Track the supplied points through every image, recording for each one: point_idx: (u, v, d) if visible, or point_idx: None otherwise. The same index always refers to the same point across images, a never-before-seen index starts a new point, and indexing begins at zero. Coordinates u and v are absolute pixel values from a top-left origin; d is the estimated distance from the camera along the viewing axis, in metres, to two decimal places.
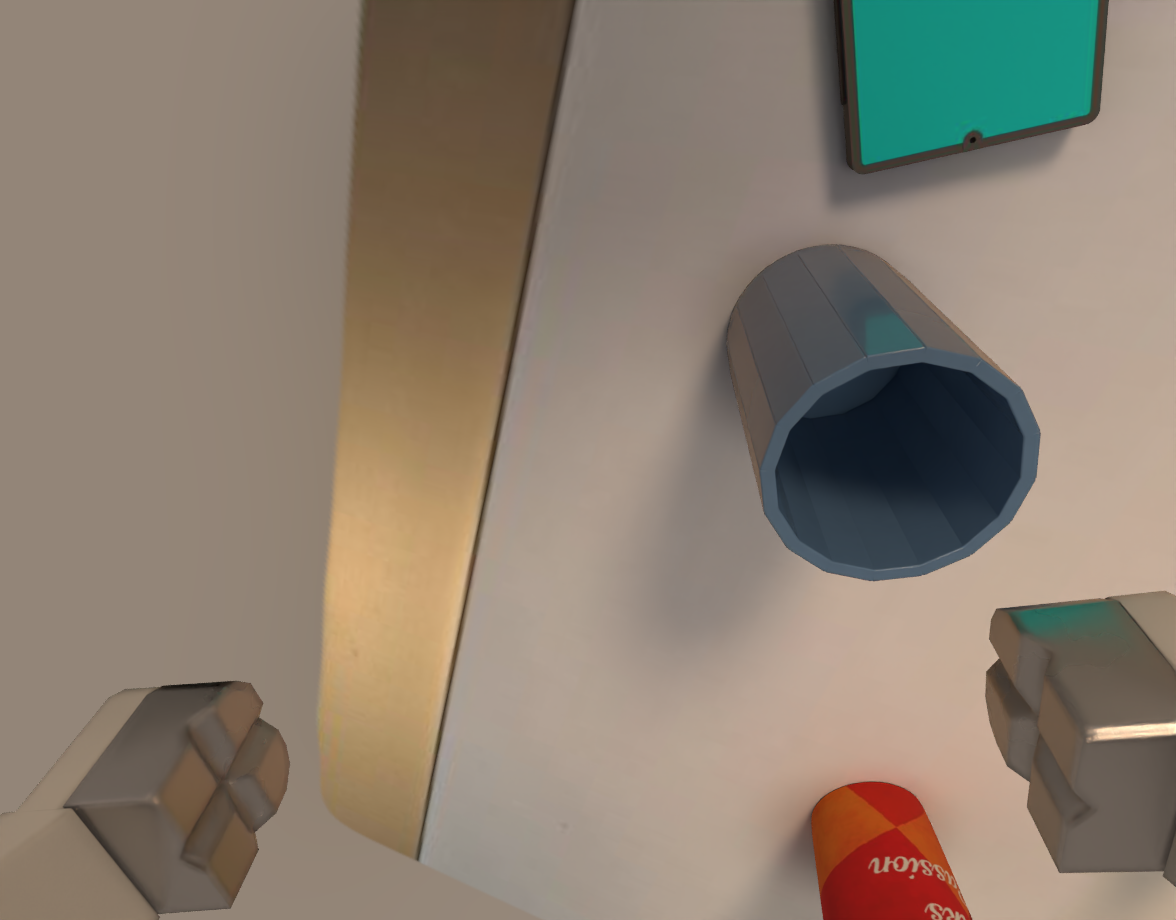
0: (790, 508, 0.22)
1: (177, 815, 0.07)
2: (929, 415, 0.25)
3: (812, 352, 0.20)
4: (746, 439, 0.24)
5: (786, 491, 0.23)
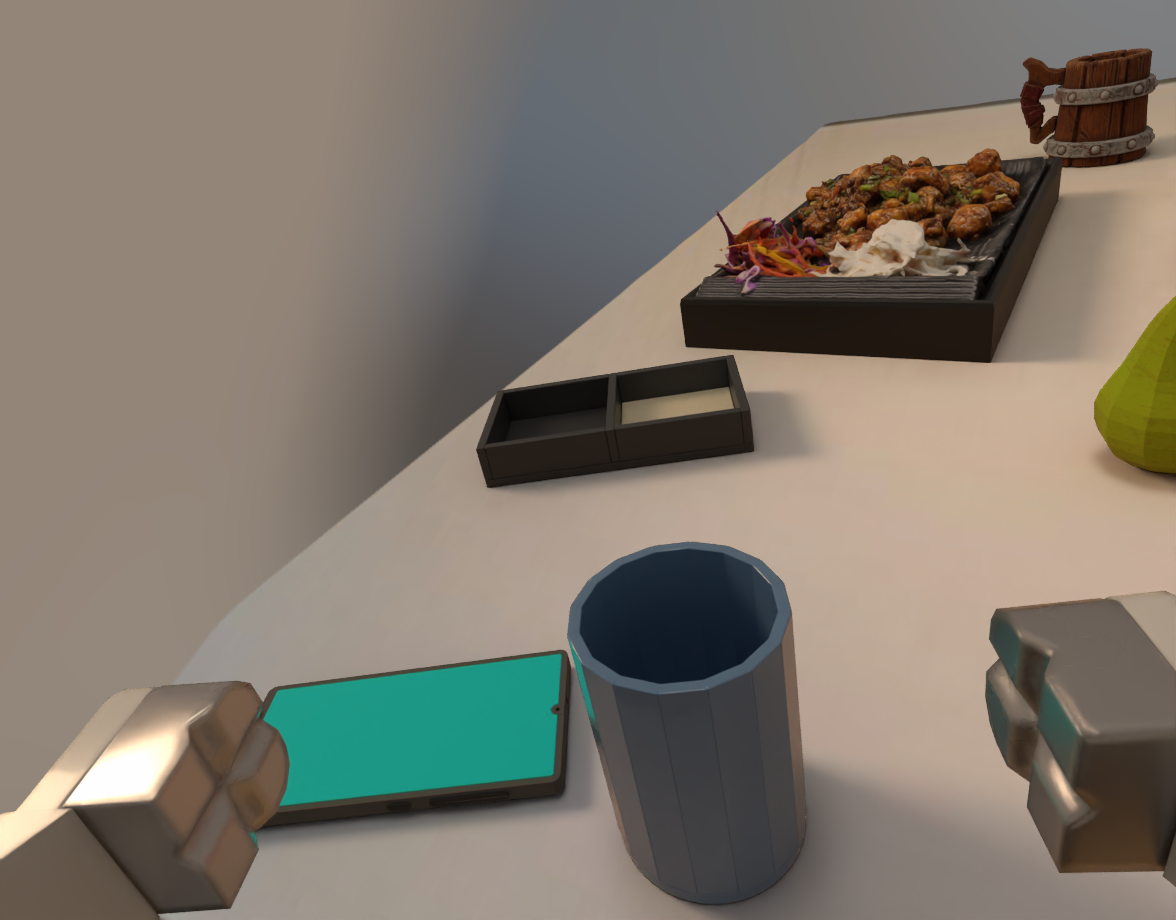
0: None
1: (177, 815, 0.07)
2: None
3: (587, 695, 0.23)
4: (718, 786, 0.22)
5: None
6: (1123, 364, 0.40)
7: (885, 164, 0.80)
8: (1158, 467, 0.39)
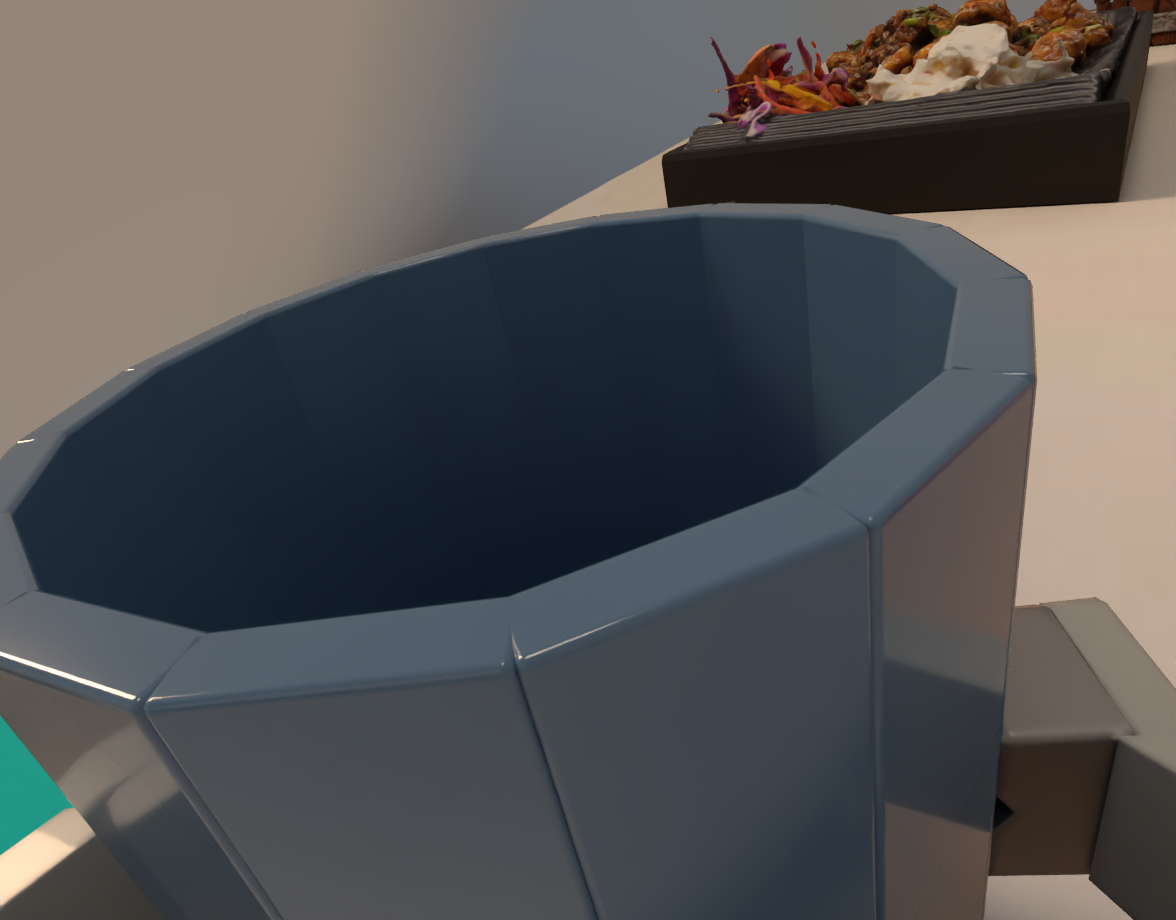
0: None
1: None
2: None
3: None
4: None
5: None
6: None
7: (930, 13, 0.62)
8: None
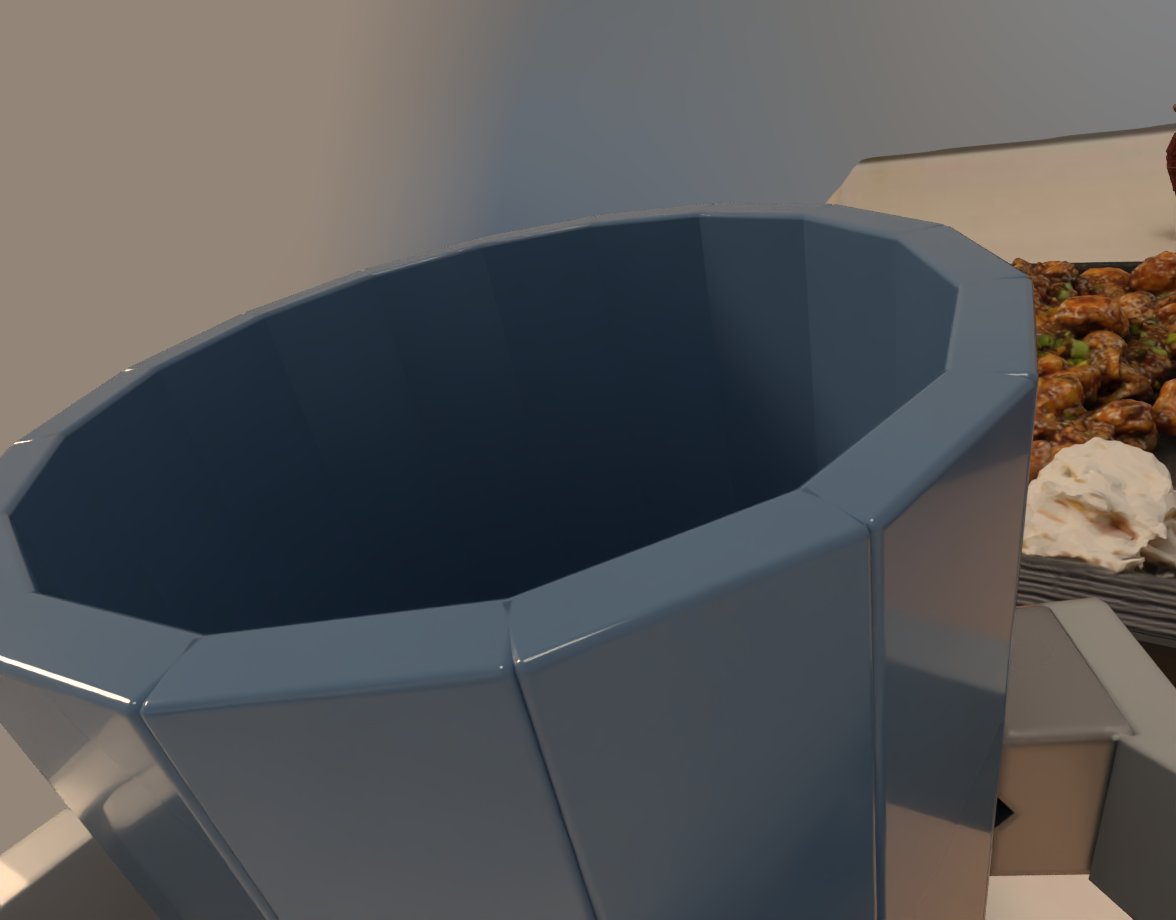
0: None
1: None
2: None
3: None
4: None
5: None
6: None
7: None
8: None
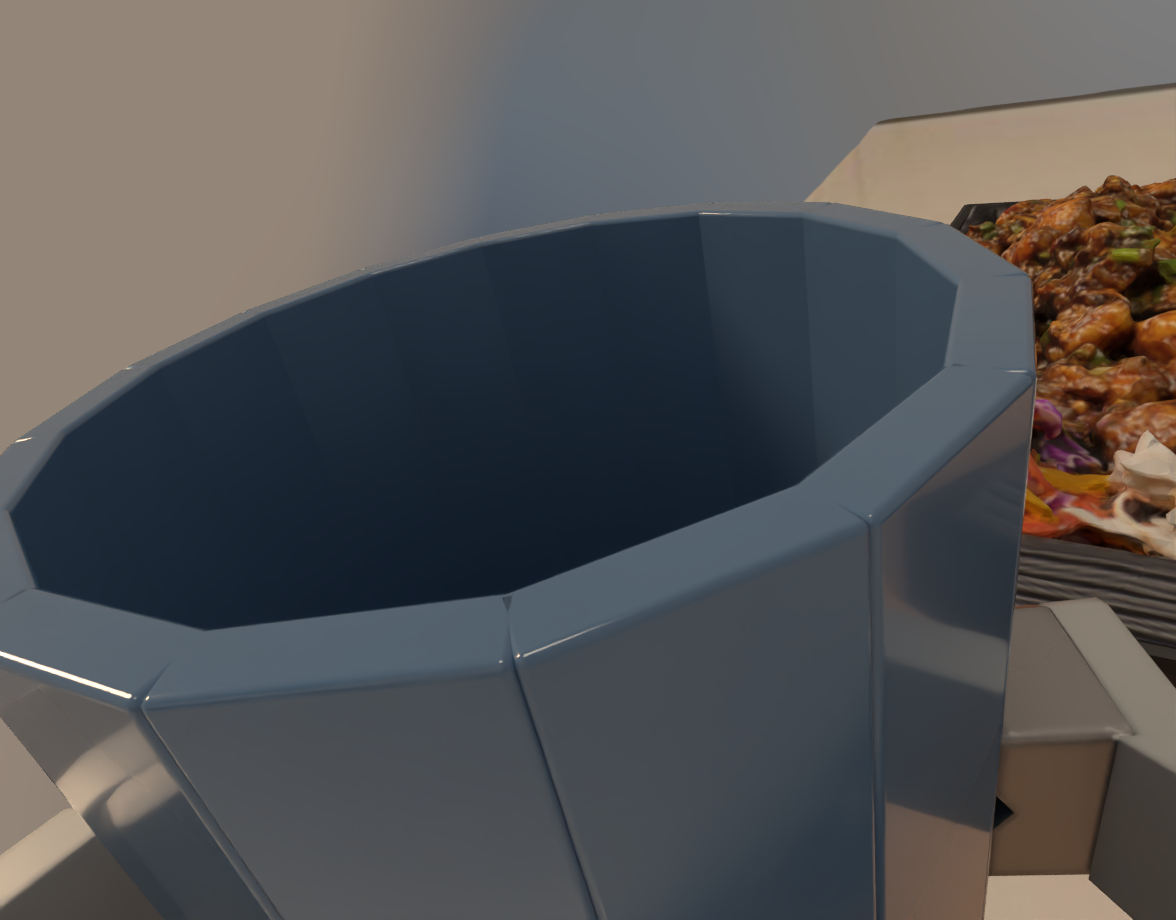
0: None
1: None
2: None
3: None
4: None
5: None
6: None
7: (1111, 195, 0.40)
8: None
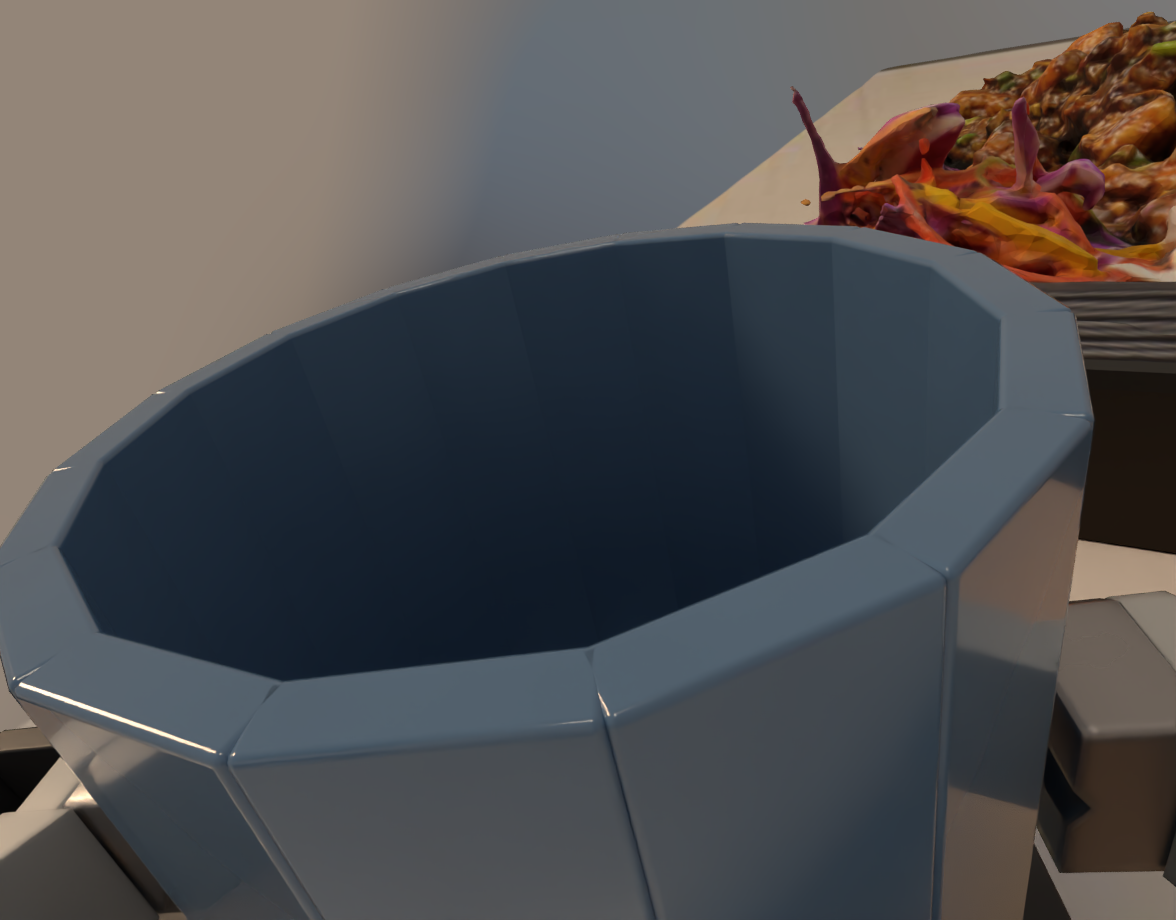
0: None
1: None
2: None
3: None
4: None
5: None
6: None
7: None
8: None
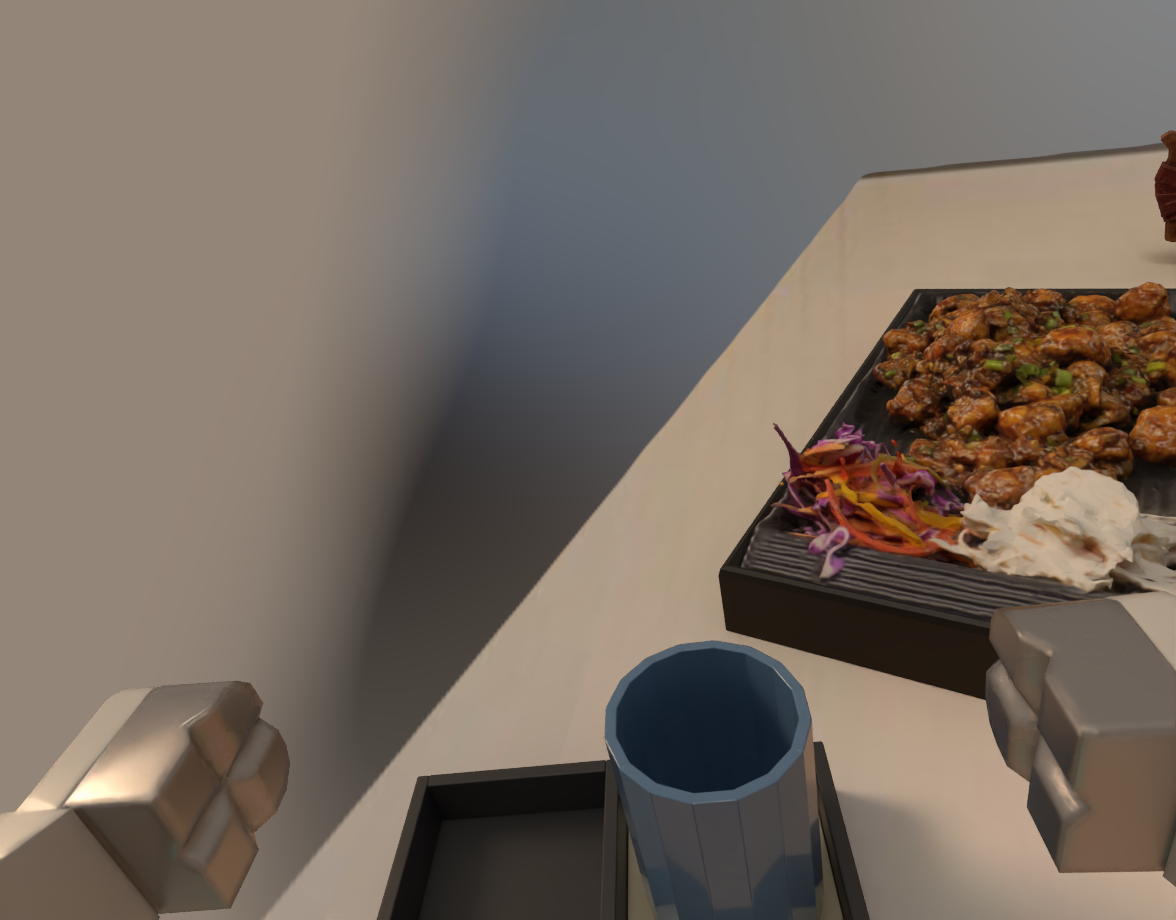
0: None
1: (177, 815, 0.07)
2: (755, 758, 0.30)
3: (624, 794, 0.25)
4: (746, 881, 0.24)
5: None
6: None
7: (1003, 306, 0.56)
8: None
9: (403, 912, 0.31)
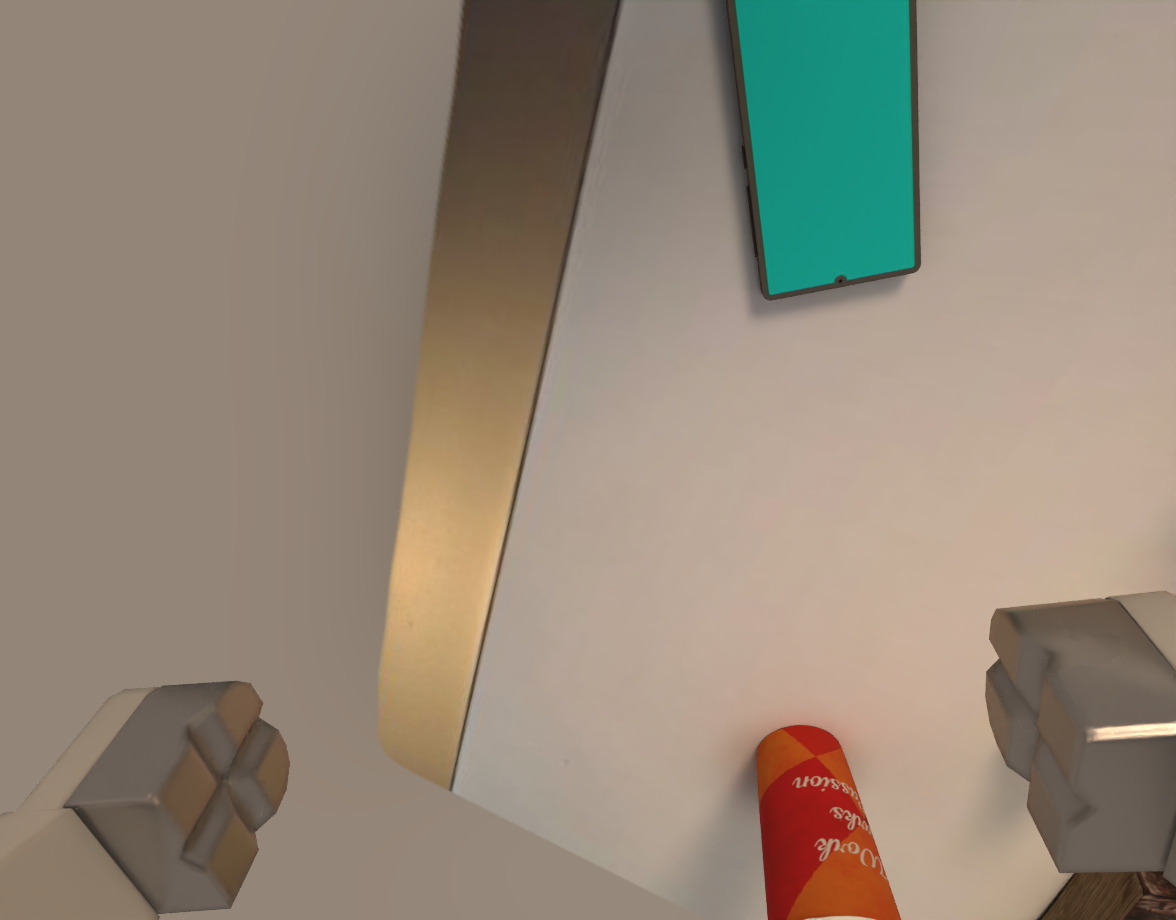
0: None
1: (177, 815, 0.07)
2: None
3: None
4: None
5: None
6: None
7: None
8: None
9: None
